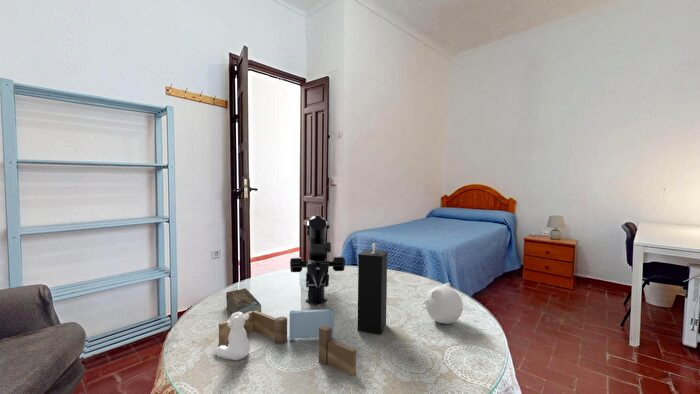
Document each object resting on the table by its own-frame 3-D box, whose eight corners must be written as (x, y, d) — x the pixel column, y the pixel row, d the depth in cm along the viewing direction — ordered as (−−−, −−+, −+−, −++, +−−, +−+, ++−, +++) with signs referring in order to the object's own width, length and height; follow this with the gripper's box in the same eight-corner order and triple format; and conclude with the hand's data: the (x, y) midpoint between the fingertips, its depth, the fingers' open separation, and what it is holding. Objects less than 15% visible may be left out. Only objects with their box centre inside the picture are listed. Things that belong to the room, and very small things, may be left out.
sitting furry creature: (246, 342, 89) (246, 302, 88) (261, 354, 83) (261, 310, 82) (213, 354, 82) (213, 311, 82) (226, 368, 76) (226, 321, 76)
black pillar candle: (386, 324, 101) (387, 241, 100) (381, 335, 94) (382, 245, 93) (363, 320, 104) (365, 239, 103) (357, 331, 96) (358, 243, 95)
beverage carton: (238, 326, 99) (238, 306, 99) (225, 307, 115) (225, 290, 115) (262, 320, 104) (262, 301, 103) (246, 303, 119) (246, 286, 119)
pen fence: (257, 326, 99) (257, 299, 99) (360, 369, 76) (360, 334, 76) (218, 343, 88) (218, 313, 87) (326, 400, 65) (326, 359, 65)
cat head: (453, 336, 93) (454, 297, 93) (416, 323, 102) (416, 287, 102) (471, 321, 105) (472, 286, 104) (436, 310, 113) (437, 278, 113)
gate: (289, 340, 89) (289, 313, 89) (289, 337, 91) (289, 310, 91) (333, 338, 91) (334, 311, 91) (333, 335, 93) (333, 308, 92)
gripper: (290, 234, 103) (287, 276, 92) (344, 233, 105) (348, 274, 95) (291, 252, 111) (289, 292, 100) (342, 251, 113) (345, 290, 103)
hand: (318, 287), depth 99 cm, fingers closed
